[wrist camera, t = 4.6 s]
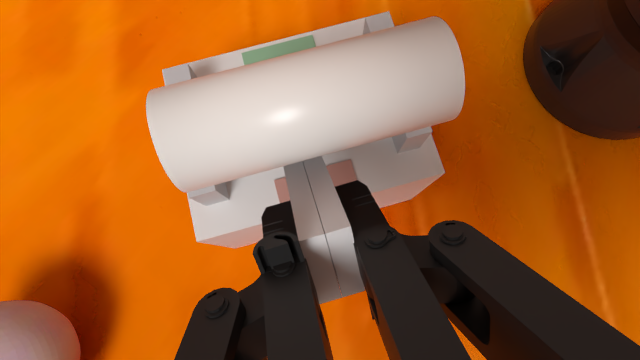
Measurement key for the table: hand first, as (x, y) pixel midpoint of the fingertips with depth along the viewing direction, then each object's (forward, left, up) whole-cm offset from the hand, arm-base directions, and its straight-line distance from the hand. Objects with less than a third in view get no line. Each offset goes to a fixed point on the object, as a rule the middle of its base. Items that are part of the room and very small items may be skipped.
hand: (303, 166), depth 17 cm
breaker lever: (-4, -4, -6) cm, 9 cm away
